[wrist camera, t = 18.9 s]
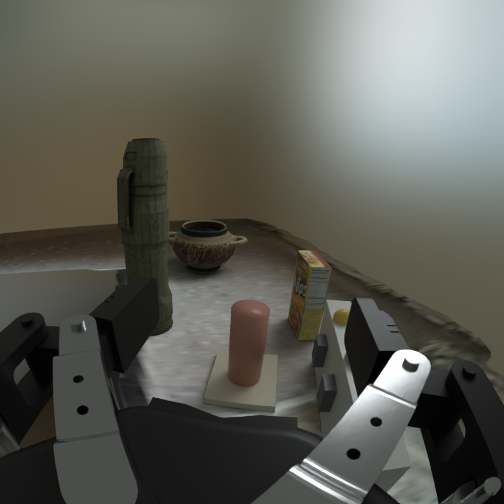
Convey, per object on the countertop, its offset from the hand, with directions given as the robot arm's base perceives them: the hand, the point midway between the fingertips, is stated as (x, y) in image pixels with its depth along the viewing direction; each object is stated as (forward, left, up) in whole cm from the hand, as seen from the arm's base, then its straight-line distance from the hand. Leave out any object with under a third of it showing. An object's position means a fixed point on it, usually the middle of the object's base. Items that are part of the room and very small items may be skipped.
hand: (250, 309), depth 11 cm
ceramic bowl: (+19, -68, -27) cm, 75 cm away
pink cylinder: (+2, -24, -25) cm, 35 cm away
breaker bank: (-12, -16, -27) cm, 33 cm away
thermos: (+22, -36, -27) cm, 50 cm away
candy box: (-8, -41, -27) cm, 49 cm away
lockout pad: (+2, -24, -27) cm, 36 cm away
